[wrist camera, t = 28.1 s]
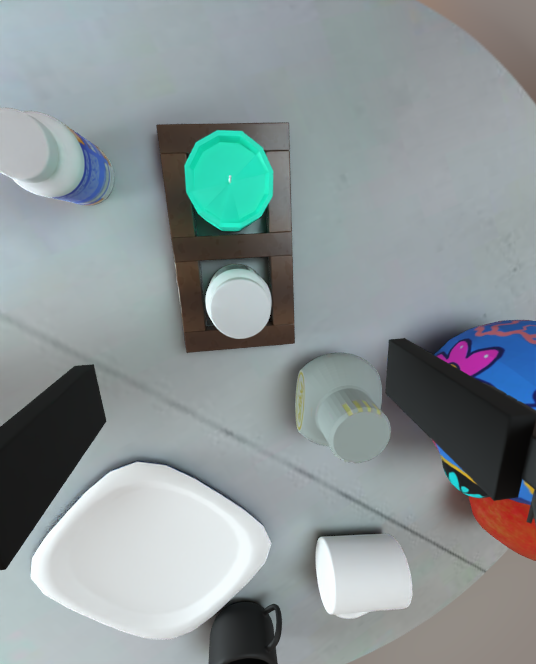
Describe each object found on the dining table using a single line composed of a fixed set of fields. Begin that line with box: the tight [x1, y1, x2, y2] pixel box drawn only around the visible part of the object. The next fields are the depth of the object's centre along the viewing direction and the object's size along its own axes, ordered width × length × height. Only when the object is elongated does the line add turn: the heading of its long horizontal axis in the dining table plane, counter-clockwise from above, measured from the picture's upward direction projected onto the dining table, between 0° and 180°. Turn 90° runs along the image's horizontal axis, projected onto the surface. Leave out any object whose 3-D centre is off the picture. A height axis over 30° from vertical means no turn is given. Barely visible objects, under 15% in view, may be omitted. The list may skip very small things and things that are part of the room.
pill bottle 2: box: [205, 264, 272, 339], centre depth 28 cm, size 6×6×10 cm
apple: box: [469, 496, 536, 561], centre depth 40 cm, size 11×11×11 cm
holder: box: [157, 123, 295, 353], centre depth 31 cm, size 21×11×2 cm, turn 3°
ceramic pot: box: [432, 320, 536, 505], centre depth 32 cm, size 18×18×15 cm
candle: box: [184, 130, 273, 232], centre depth 25 cm, size 6×6×12 cm
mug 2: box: [316, 534, 412, 619], centre depth 42 cm, size 12×10×8 cm
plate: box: [31, 461, 271, 639], centre depth 41 cm, size 25×25×2 cm
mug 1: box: [209, 602, 282, 664], centre depth 43 cm, size 12×9×7 cm
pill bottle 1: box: [0, 108, 114, 205], centre depth 24 cm, size 5×5×10 cm
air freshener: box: [295, 353, 391, 463], centre depth 33 cm, size 11×8×10 cm
